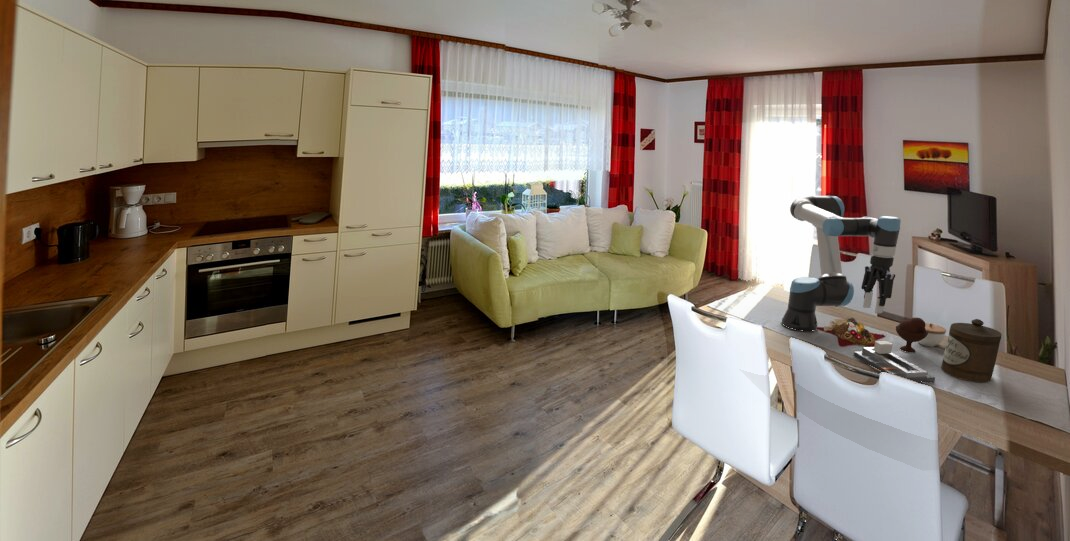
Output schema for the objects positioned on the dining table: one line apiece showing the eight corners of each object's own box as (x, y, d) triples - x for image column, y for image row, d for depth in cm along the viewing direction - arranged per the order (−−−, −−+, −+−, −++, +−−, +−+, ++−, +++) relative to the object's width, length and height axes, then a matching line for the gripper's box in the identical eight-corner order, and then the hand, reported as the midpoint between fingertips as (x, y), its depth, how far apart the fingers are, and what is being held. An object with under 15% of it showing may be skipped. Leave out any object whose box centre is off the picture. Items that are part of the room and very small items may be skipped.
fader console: (853, 355, 205) (855, 347, 204) (885, 354, 206) (887, 346, 205) (898, 383, 182) (900, 373, 181) (934, 382, 183) (936, 372, 182)
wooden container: (933, 363, 199) (945, 311, 193) (978, 367, 195) (991, 315, 189) (951, 379, 185) (965, 324, 180) (999, 385, 181) (1015, 329, 175)
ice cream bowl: (917, 346, 214) (924, 314, 210) (927, 357, 204) (935, 323, 200) (888, 343, 218) (895, 311, 214) (897, 353, 208) (904, 320, 204)
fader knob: (872, 355, 201) (874, 341, 199) (883, 355, 201) (886, 340, 200) (878, 359, 198) (881, 344, 196) (890, 358, 198) (893, 344, 196)
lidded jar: (947, 349, 212) (952, 329, 209) (919, 347, 214) (924, 327, 211) (933, 339, 222) (938, 320, 219) (906, 337, 224) (911, 318, 221)
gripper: (857, 250, 207) (848, 302, 213) (891, 261, 188) (880, 318, 194) (874, 250, 207) (864, 302, 213) (910, 261, 189) (899, 318, 195)
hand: (872, 310), depth 204 cm, fingers open, 6 cm apart
